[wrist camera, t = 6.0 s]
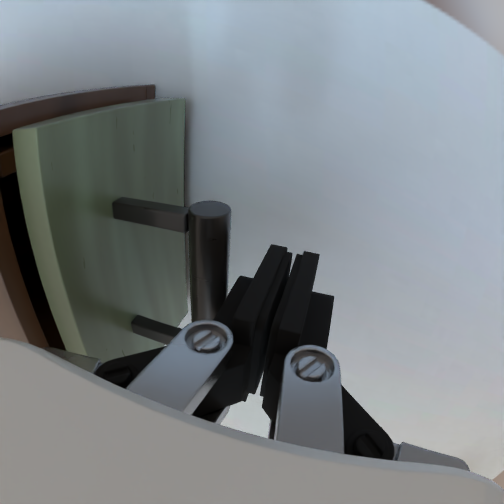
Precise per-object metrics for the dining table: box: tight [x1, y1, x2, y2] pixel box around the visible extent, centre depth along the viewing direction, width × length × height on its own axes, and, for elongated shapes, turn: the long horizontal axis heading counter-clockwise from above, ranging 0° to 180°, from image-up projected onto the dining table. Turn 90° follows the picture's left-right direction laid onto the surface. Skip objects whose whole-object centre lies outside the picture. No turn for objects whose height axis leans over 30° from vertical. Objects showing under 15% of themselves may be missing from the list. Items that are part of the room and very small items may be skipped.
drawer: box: [0, 98, 231, 363], centre depth 13 cm, size 20×11×8 cm, turn 86°
